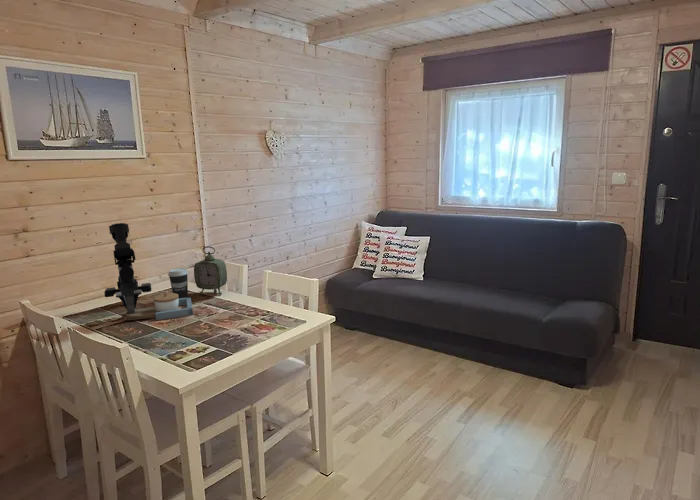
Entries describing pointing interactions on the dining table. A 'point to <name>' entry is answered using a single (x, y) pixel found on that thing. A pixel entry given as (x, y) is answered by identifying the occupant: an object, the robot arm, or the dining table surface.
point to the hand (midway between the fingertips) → (131, 308)
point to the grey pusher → (138, 310)
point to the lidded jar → (166, 302)
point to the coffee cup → (179, 282)
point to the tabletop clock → (210, 273)
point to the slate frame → (178, 312)
